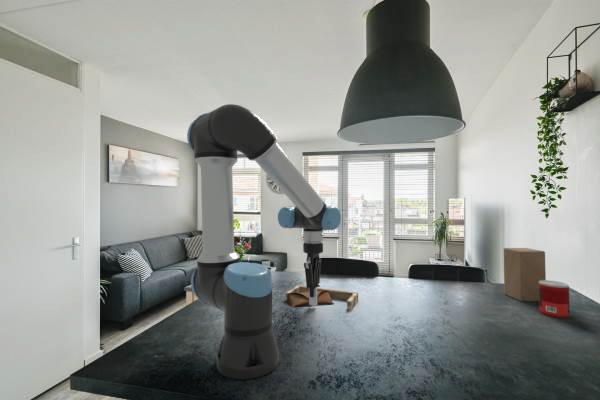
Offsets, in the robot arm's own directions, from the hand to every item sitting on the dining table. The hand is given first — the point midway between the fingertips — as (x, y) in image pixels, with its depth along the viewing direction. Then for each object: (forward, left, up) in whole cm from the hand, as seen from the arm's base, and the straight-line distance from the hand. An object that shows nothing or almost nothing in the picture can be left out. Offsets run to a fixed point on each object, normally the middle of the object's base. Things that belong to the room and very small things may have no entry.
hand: (313, 304), depth 108 cm
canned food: (+28, -80, -1) cm, 85 cm away
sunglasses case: (+5, +3, -2) cm, 6 cm away
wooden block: (+46, -76, -1) cm, 89 cm away
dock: (+9, 0, -1) cm, 9 cm away
